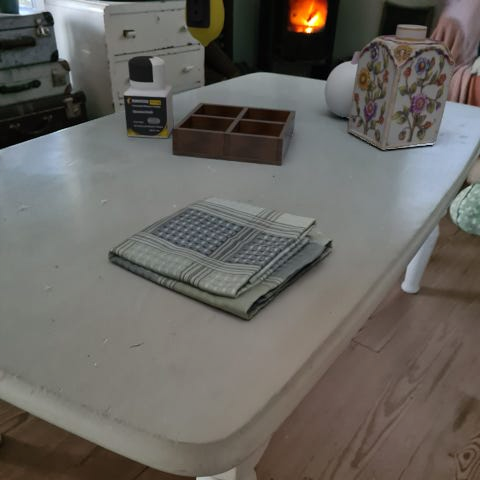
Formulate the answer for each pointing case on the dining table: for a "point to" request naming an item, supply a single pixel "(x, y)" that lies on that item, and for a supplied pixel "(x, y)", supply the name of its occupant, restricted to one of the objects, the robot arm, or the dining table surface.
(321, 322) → the dining table surface
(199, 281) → the dish towel
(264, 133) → the divided wooden tray
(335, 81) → the ornament
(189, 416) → the dining table surface
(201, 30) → the lemon
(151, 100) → the medicine bottle
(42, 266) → the dining table surface
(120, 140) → the dining table surface
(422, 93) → the decorative jar
